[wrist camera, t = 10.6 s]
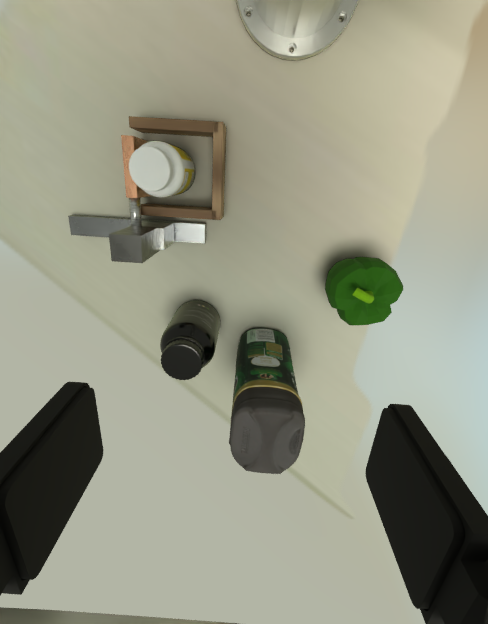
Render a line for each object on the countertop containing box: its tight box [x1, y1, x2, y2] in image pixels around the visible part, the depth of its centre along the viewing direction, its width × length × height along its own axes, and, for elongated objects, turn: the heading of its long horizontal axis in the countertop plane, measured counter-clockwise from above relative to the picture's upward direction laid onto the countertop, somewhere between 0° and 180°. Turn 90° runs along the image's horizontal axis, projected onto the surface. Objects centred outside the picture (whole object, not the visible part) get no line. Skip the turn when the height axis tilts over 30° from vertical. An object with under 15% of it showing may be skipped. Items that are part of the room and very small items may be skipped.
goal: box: [129, 116, 226, 220], centre depth 37 cm, size 10×10×4 cm
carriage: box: [109, 135, 175, 263], centre depth 34 cm, size 12×4×12 cm, turn 177°
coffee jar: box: [229, 329, 305, 474], centre depth 40 cm, size 10×8×19 cm
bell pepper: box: [325, 257, 403, 325], centre depth 39 cm, size 8×8×10 cm
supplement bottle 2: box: [160, 300, 220, 380], centre depth 41 cm, size 7×7×12 cm
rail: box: [68, 215, 206, 243], centre depth 41 cm, size 2×18×1 cm, turn 87°
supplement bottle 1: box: [129, 141, 195, 197], centre depth 34 cm, size 5×5×10 cm
